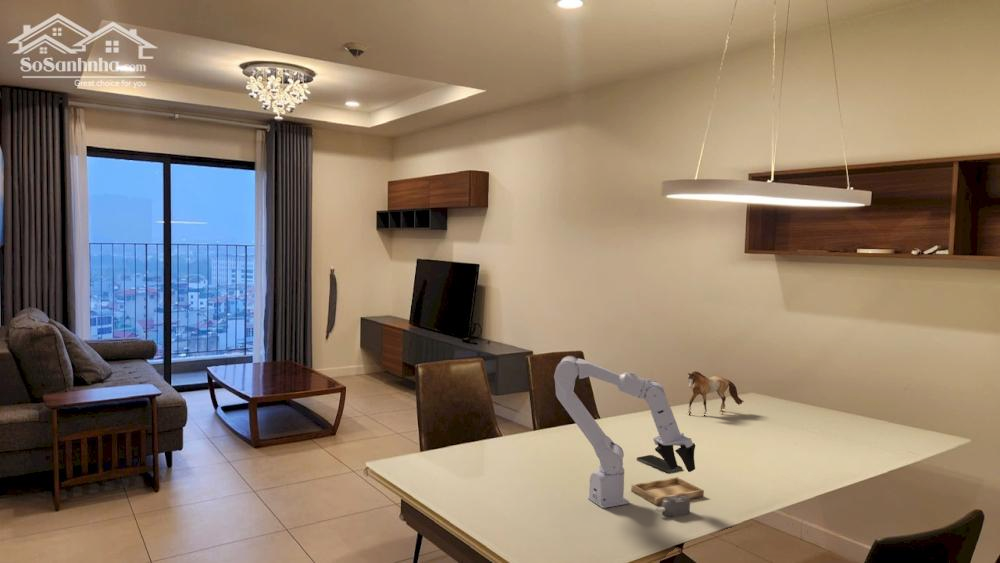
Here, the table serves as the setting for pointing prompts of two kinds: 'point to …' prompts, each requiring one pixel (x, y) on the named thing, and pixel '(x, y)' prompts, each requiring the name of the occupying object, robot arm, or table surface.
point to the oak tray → (666, 490)
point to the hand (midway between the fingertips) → (682, 469)
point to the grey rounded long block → (675, 506)
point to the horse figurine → (711, 388)
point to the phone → (657, 463)
